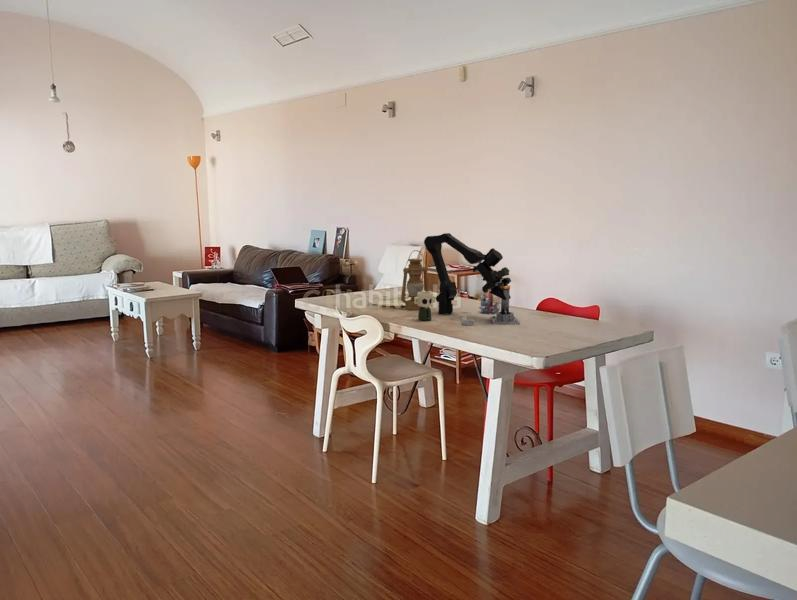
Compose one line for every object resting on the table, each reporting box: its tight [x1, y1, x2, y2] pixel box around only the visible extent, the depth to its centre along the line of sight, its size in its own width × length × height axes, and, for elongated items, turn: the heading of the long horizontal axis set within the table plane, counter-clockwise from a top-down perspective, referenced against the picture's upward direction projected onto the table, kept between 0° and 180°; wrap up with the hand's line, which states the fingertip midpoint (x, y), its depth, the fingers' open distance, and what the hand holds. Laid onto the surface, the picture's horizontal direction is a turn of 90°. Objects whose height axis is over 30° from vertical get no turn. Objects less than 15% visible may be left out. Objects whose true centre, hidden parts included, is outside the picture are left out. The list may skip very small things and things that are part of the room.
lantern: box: [400, 250, 430, 311], centre depth 328 cm, size 15×10×30 cm
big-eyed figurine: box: [414, 291, 436, 321], centre depth 300 cm, size 11×7×13 cm, turn 114°
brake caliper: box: [478, 293, 501, 315], centre depth 321 cm, size 11×11×12 cm
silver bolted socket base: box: [490, 311, 521, 325], centre depth 298 cm, size 12×12×4 cm
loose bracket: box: [461, 316, 475, 326], centre depth 292 cm, size 5×8×2 cm, turn 178°
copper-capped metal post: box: [500, 285, 511, 314], centre depth 296 cm, size 4×4×12 cm
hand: (507, 299), depth 295 cm, fingers closed on copper-capped metal post, 4 cm apart
